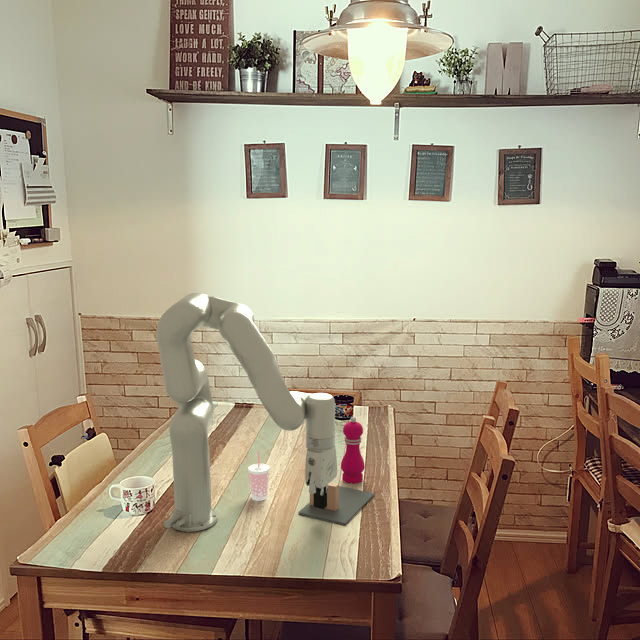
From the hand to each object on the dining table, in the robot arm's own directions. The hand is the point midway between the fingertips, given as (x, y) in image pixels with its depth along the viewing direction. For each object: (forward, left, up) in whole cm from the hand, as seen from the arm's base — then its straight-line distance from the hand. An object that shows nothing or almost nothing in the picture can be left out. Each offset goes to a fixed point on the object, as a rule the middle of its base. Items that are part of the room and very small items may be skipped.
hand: (320, 506), depth 175 cm
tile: (+7, +2, -4) cm, 8 cm away
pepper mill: (+28, +3, -4) cm, 28 cm away
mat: (+11, 0, -4) cm, 12 cm away
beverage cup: (+5, +22, -4) cm, 23 cm away
